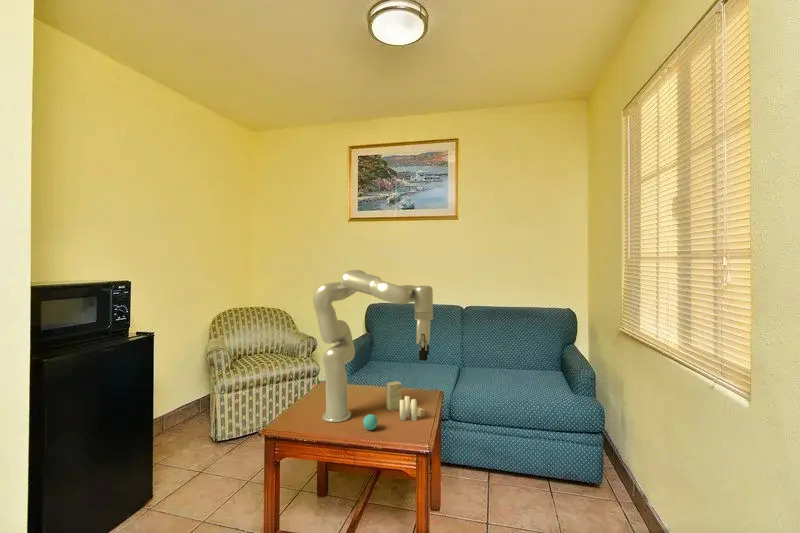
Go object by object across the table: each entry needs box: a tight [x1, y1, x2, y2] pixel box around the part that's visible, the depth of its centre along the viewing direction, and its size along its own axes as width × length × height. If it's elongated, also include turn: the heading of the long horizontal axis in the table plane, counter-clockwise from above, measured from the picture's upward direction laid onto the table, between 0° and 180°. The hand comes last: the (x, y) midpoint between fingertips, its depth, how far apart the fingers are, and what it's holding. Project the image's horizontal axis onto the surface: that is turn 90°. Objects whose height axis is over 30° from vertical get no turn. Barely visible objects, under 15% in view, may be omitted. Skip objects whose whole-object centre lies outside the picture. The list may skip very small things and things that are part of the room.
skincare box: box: [386, 380, 403, 412], centre depth 175 cm, size 6×4×12 cm
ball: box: [362, 413, 379, 431], centre depth 153 cm, size 6×6×6 cm
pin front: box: [399, 398, 407, 422], centre depth 162 cm, size 2×2×8 cm
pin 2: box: [410, 398, 418, 422], centre depth 162 cm, size 2×2×8 cm
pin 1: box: [404, 395, 411, 418], centre depth 166 cm, size 2×2×8 cm
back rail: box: [410, 402, 426, 418], centre depth 169 cm, size 12×2×3 cm, turn 34°
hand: (424, 357), depth 153 cm, fingers open, 9 cm apart
